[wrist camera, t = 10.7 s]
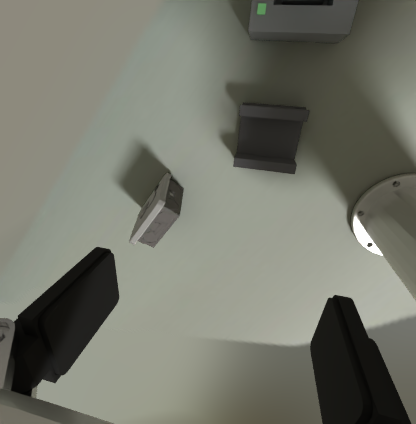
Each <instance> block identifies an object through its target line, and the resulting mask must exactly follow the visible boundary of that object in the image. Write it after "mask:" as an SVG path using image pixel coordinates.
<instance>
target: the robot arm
mask: <svg viewBox="0 0 416 424" xmlns="http://www.w3.org/2000/svg"><path fill="white" fill-rule="evenodd" d="M393 182H395V183H394V184H393ZM359 211H360V212H359ZM351 227H352V230H353V233H354V235H355V237H356V238H357V240H358V241H359V242H360V244H361V245H362V246H364V247H365V248H366V249H368V250H369V251H371V252H373V253H376V254H379V255H382V256H384V257H385V259H386V260H387V262H388V263H389V264H390V266H391V267H392V268H393V270H394V271H395V273H396V274H397V275H398V277H399V278H400V280H401V281H402V282H403V284H404V285H405V286H406V288H407V289H408V291H409V292H410V293H411V295H412V296H413V298H414V299H415V300H416V173H413V174H402V175H397V176H393V177H390V178H388V179H385V180H383V181H381V182H379V183H377V184H375V185H374V186H372V187H371V188H370V189H368V190H367V191H366V192H365V193H364V194H363V195H362V196H361V197H360V199H359V200H358V201H357V203H356V204H355V207H354V209H353V211H352V216H351ZM118 300H119V291H118V283H117V275H116V267H115V260H114V254H113V253H111V250H110V249H106V248H101V247H96V248H95V249H93V250H92V251H91V252H90V253H89V254H88V255H87V256H85V257H84V258H83V259H82V260H81V261H80V262H79V263H77V264H76V265H75V266H74V267H73V268H72V269H71V270H69V271H68V272H67V273H66V274H65V275H64V276H63V277H61V278H60V279H59V280H58V281H57V282H56V283H55V284H53V285H52V286H51V287H50V288H49V289H48V290H47V291H45V292H44V293H43V294H42V295H41V296H40V297H39V298H38V299H37V300H35V301H34V302H33V303H32V304H31V305H30V306H28V307H27V308H26V309H25V310H24V311H23V312H22V313H21V314H19V315H18V319H16V321H14V322H13V321H12V320H10V319H7V318H0V424H113V423H110V422H107V421H104V420H101V419H98V418H95V417H92V416H89V415H86V414H83V413H80V412H77V411H73V410H71V409H68V408H65V407H61V406H58V405H55V404H52V403H49V402H46V401H43V400H39V399H36V394H37V385H38V384H39V383H40V382H41V380H42V379H43V380H46V381H50V382H53V383H56V382H57V380H58V379H59V377H60V376H61V375H64V374H66V372H67V371H68V370H69V369H70V368H71V366H72V365H73V363H74V362H75V361H76V359H77V358H78V356H79V355H80V354H81V352H82V351H83V350H84V348H85V347H86V345H87V344H88V343H89V341H90V340H91V339H92V337H93V336H94V335H95V333H96V332H97V331H98V329H99V328H100V326H101V325H102V324H103V322H104V321H105V320H106V318H107V317H108V315H109V314H110V313H111V311H112V310H113V309H114V307H115V306H116V304H117V303H118ZM310 350H311V357H312V362H313V369H314V375H315V381H316V386H317V392H318V398H319V404H320V409H321V416H322V422H323V424H411V422H410V420H409V417H408V415H407V413H406V410H405V408H404V406H403V404H402V401H401V399H400V397H399V394H398V392H397V390H396V388H395V385H394V383H393V381H392V379H391V376H390V374H389V372H388V369H387V367H386V365H385V362H384V360H383V358H382V356H381V353H380V351H379V349H378V346H377V345H376V343H375V341H373V340H372V339H370V338H368V335H367V333H366V330H365V328H364V326H363V323H362V321H361V318H360V316H359V314H358V311H357V309H356V306H355V304H354V302H353V300H352V299H351V298H348V297H343V296H338V295H334V296H333V298H328V300H327V303H326V305H325V308H324V310H323V313H322V315H321V318H320V320H319V323H318V325H317V328H316V330H315V333H314V336H313V338H312V341H311V346H310Z"/></svg>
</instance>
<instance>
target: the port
mask: <svg viewBox="0 0 416 424" xmlns="http://www.w3.org/2000/svg"><path fill="white" fill-rule="evenodd" d="M358 1H359V0H324V2H323V4H322V5H282V0H252V4H251V13H250V21H249V30H248V32H249V35H250V38H251V40H268V41H296V42H324V43H339V42H340V41H341V40H343V39H344V38H345V37H347V36H348V35H349V34H350V31H351V27H352V23H353V19H354V16H355V12H356V8H357V4H358Z"/></svg>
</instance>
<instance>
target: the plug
mask: <svg viewBox="0 0 416 424" xmlns="http://www.w3.org/2000/svg"><path fill="white" fill-rule="evenodd" d="M323 2H324V0H282V5H322V4H323Z"/></svg>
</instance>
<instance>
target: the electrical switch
mask: <svg viewBox="0 0 416 424" xmlns="http://www.w3.org/2000/svg"><path fill="white" fill-rule="evenodd" d="M171 176H172V175H171V174H169V173H166V174H165V175H164V176H163V178H162V179H161V181H160V182H159V184H158V185H157V187H156V188H155V190H154V191H153V192H152V194H151V195H150V197H149V198H148V200H147V201H146V203H145V204H144V205H143V207H142V209H141V211H140V213H139V214H138V218H137V221H136V223H135V226H134V229H133V231H132V234H131V237H130V240H129V242H130V243H132V244H134V245H135V243H136V242H137V241H139V242H141V243H143V244H147V245H149V246H151V247H153V248H154V246H155V245H156V244H157V243H158V242H159V240H160V239H161V238H162V237H163V235H164V234H165V233H166V232H167V231H168V229H169V228H170V227H171V226H172V224H173V223H174V222H175V221H176V220H177V218H178V217H179V216H180V211H181V204H182V197H183V190H184V188H182V187H180V186H179V185H177V184H176V183H175V182H173V181H172V180H171V179H170V178H171ZM176 213H177V214H176ZM178 214H179V215H178Z"/></svg>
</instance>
